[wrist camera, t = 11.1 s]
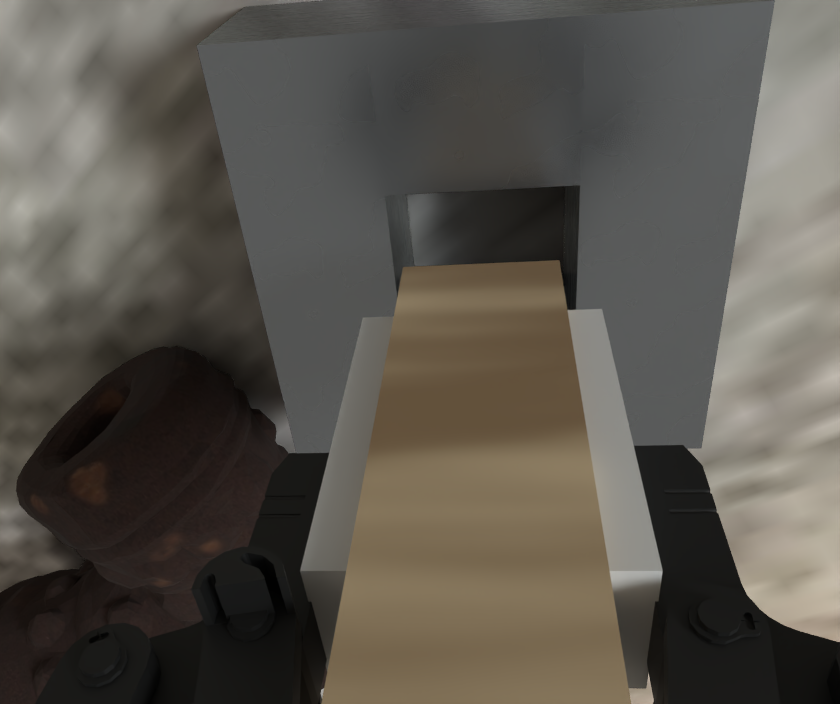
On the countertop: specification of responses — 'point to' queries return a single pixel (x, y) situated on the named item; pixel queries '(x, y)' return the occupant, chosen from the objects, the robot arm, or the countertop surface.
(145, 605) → the pipe
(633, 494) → the robot arm
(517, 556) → the oak peg
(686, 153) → the socket block
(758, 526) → the countertop surface
